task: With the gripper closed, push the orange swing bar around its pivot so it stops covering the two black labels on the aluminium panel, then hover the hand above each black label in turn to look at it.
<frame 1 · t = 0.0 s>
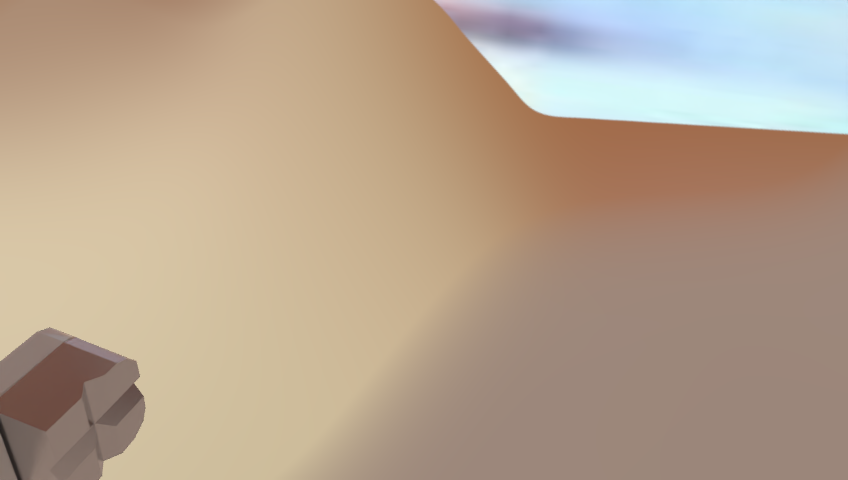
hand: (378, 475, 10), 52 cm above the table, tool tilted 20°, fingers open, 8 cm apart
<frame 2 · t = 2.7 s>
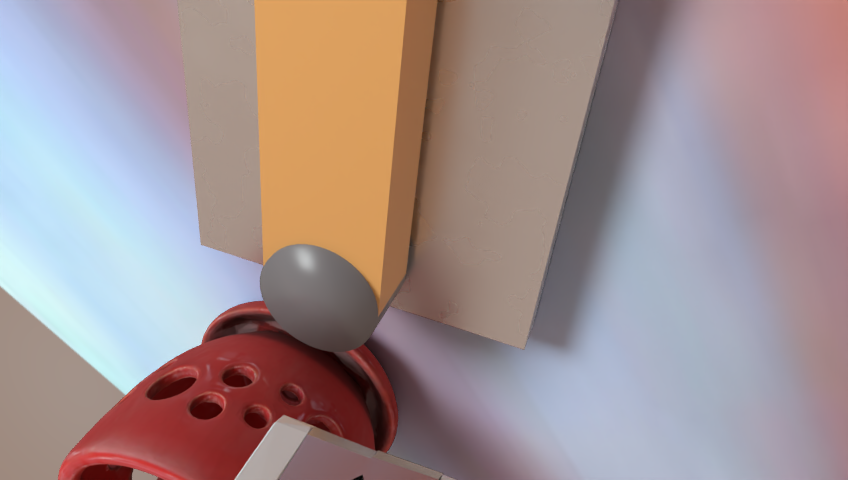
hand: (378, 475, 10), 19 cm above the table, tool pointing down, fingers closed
swing bar: (339, 155, 26), point 4 cm above the table, hinge at 0.0°
plant pot: (309, 372, 40), on the table
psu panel: (384, 106, 29), on the table
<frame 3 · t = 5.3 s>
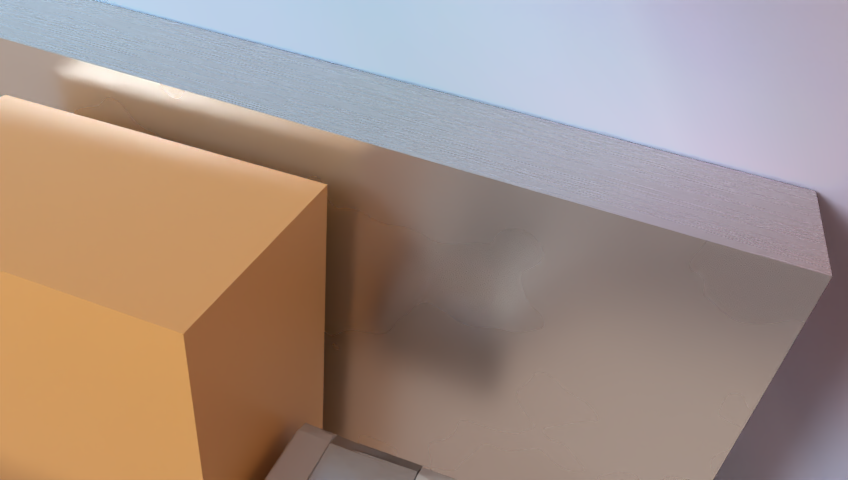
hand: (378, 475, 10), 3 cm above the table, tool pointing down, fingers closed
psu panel: (276, 411, 16), on the table
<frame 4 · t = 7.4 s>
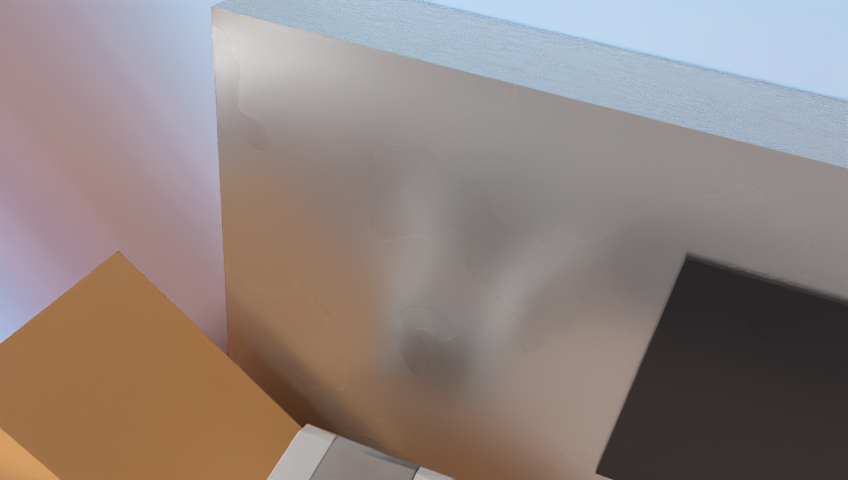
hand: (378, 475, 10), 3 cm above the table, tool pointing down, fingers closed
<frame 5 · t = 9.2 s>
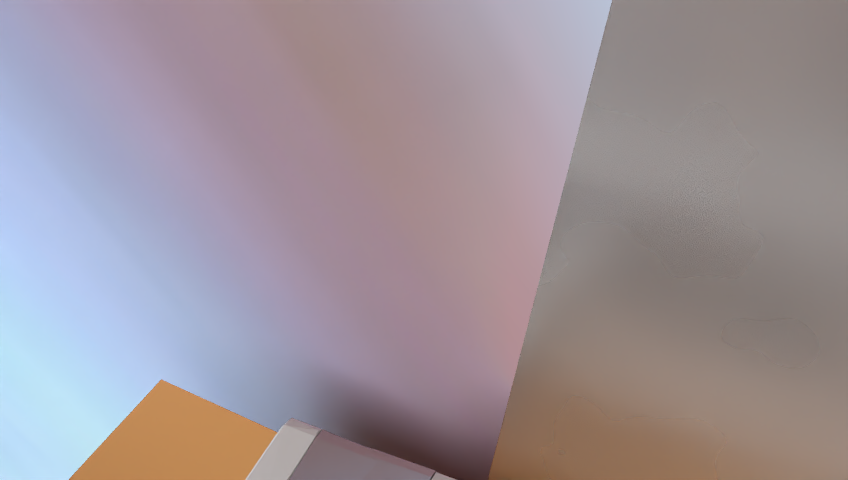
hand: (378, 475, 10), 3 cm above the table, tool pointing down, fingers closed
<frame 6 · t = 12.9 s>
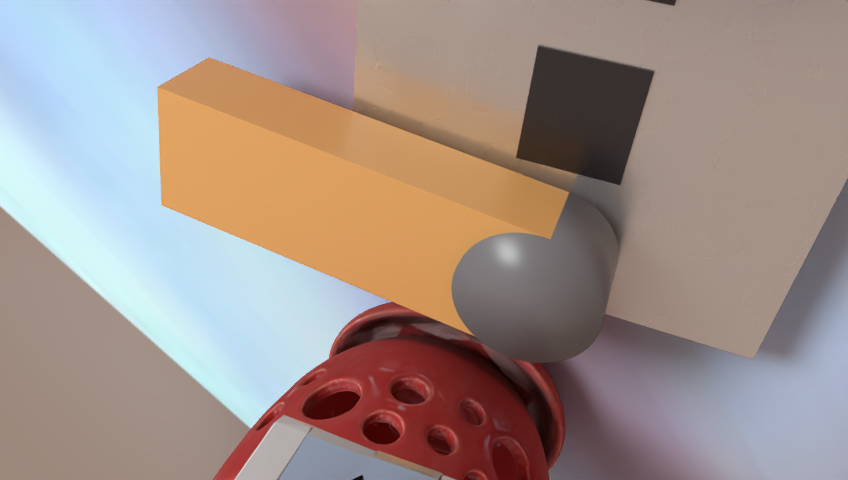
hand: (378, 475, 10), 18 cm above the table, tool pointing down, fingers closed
swing bar: (383, 213, 25), point 4 cm above the table, hinge at 83.7°
plant pot: (449, 380, 35), on the table
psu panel: (598, 66, 24), on the table
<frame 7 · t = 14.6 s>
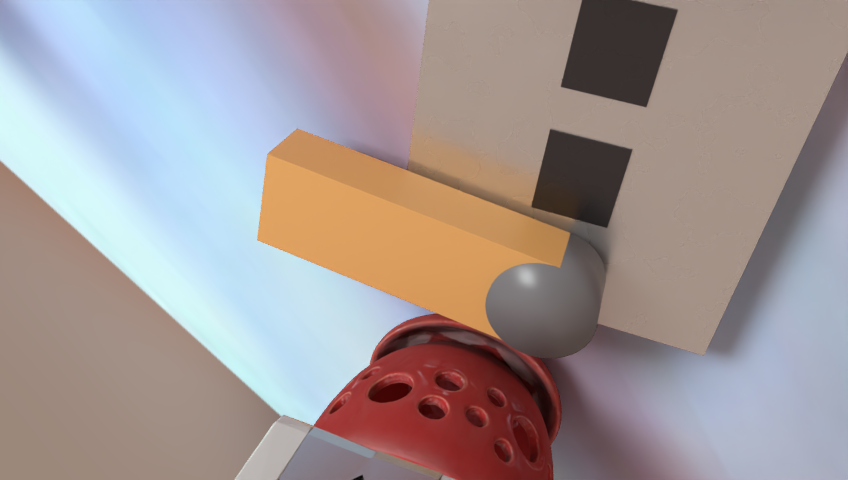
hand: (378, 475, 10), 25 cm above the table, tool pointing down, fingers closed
swing bar: (431, 247, 34), point 4 cm above the table, hinge at 83.7°
plant pot: (466, 379, 44), on the table
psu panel: (590, 141, 33), on the table
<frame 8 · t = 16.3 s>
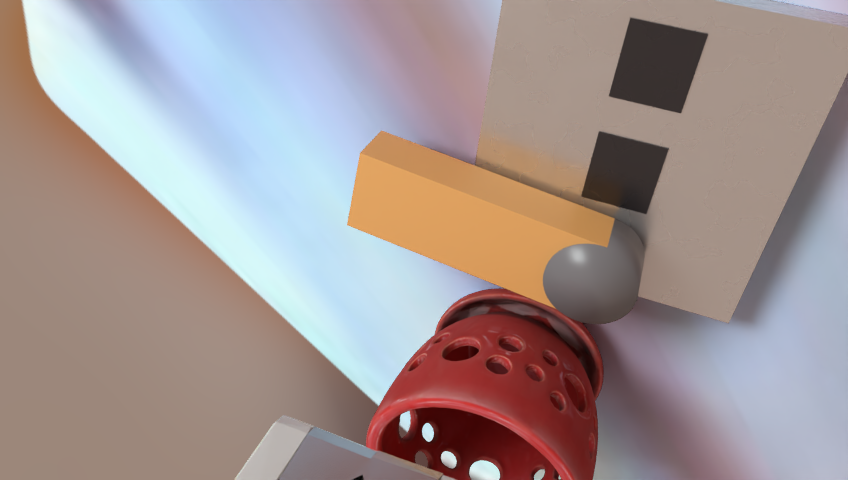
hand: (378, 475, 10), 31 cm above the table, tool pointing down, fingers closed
swing bar: (496, 231, 40), point 4 cm above the table, hinge at 83.7°
plant pot: (518, 346, 50), on the table
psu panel: (632, 140, 39), on the table
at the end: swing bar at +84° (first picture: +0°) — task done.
